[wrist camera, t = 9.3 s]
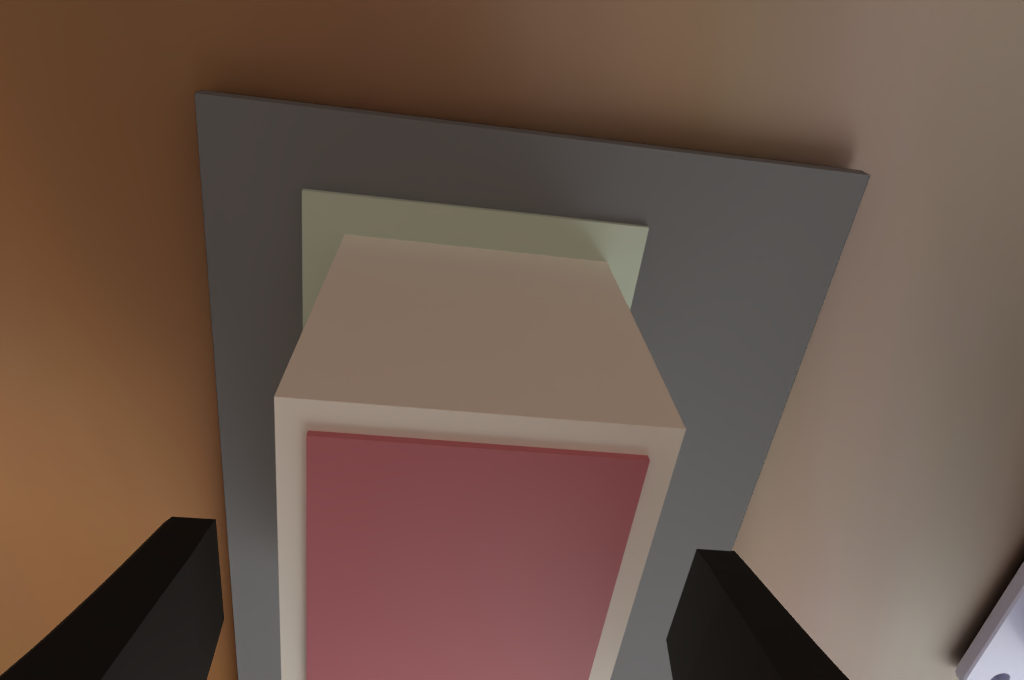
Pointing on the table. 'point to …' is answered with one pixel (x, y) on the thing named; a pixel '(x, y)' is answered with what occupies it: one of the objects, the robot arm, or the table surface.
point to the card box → (466, 467)
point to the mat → (525, 229)
